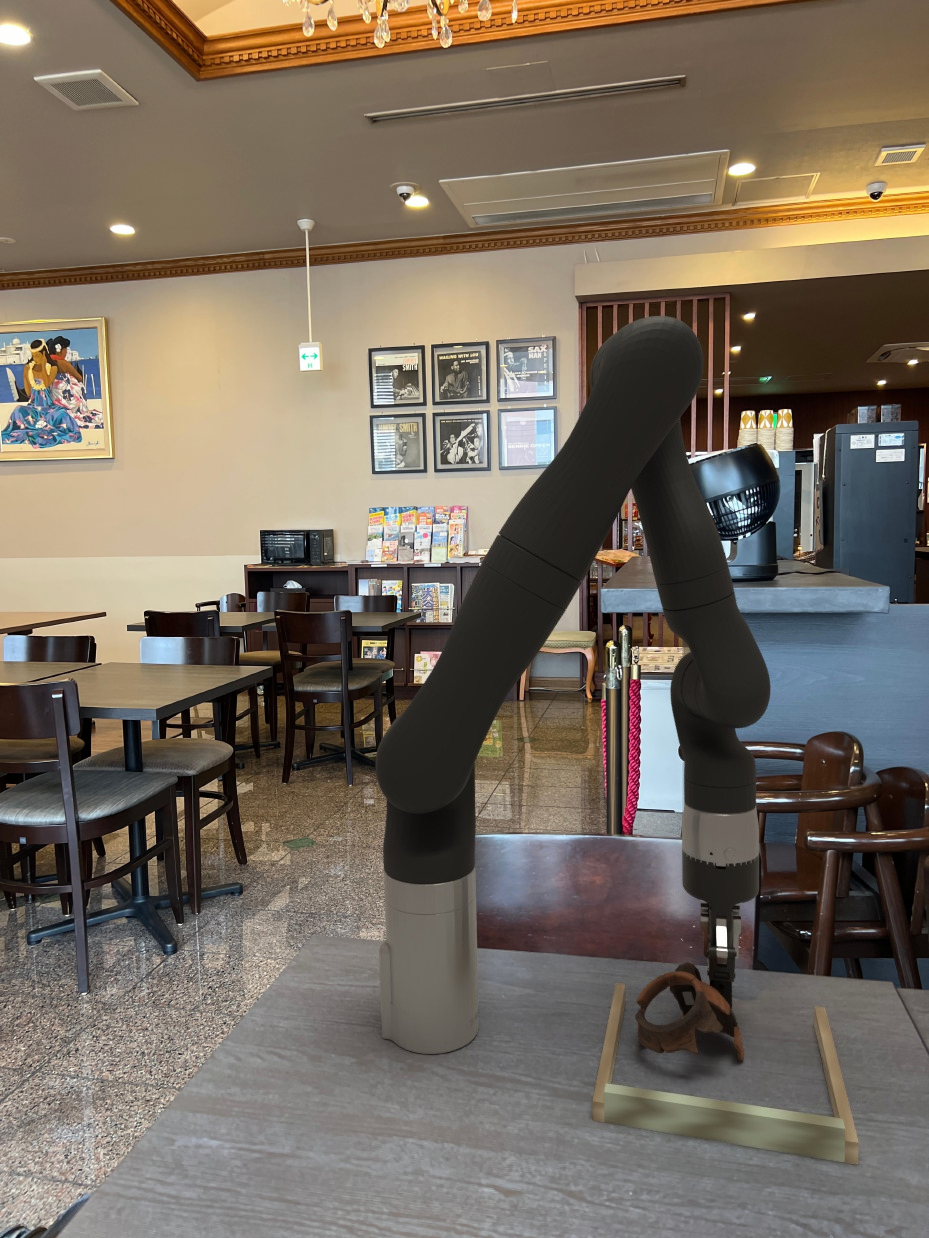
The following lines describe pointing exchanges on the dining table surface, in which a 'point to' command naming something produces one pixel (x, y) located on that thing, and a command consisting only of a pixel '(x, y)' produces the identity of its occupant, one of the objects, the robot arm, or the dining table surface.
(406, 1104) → the dining table surface
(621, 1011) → the bay
